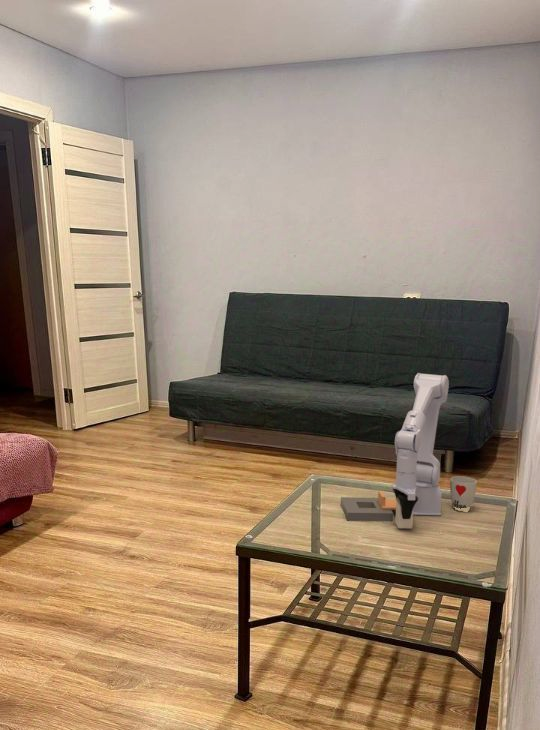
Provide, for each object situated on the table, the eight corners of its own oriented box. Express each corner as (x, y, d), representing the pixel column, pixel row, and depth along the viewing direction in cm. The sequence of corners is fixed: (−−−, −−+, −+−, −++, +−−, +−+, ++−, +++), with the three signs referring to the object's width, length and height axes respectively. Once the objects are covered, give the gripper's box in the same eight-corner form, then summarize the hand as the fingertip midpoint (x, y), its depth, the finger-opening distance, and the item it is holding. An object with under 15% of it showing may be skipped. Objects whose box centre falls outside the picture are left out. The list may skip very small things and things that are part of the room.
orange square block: (401, 500, 192) (402, 490, 191) (408, 509, 184) (408, 498, 183) (377, 500, 191) (377, 489, 191) (382, 509, 184) (383, 498, 183)
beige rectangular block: (408, 523, 178) (409, 497, 177) (412, 528, 174) (413, 502, 173) (395, 523, 178) (396, 497, 177) (398, 528, 174) (399, 501, 173)
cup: (443, 507, 194) (445, 477, 193) (461, 503, 198) (462, 474, 197) (462, 515, 187) (464, 485, 186) (480, 511, 191) (482, 481, 190)
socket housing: (383, 505, 195) (383, 497, 195) (392, 521, 181) (393, 513, 181) (340, 504, 194) (340, 497, 194) (347, 520, 181) (347, 512, 180)
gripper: (387, 463, 181) (385, 506, 183) (398, 478, 167) (396, 524, 168) (410, 464, 181) (408, 507, 183) (423, 478, 167) (421, 525, 169)
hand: (404, 515), depth 176 cm, fingers closed on beige rectangular block, 4 cm apart
